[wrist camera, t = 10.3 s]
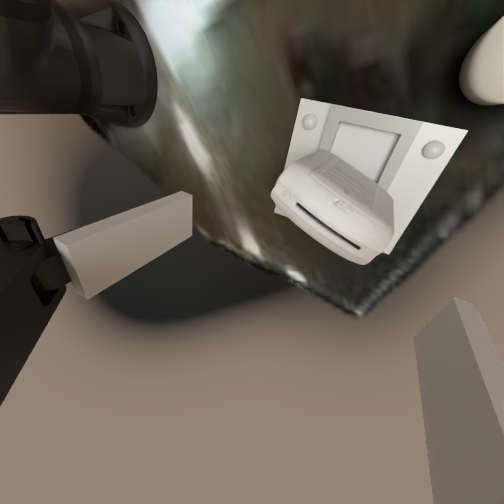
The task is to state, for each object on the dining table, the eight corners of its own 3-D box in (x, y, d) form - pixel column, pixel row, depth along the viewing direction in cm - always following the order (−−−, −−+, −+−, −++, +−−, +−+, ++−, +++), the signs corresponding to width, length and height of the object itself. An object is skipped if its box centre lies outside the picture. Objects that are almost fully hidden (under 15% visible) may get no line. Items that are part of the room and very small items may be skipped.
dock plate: (276, 210, 34) (270, 215, 32) (303, 98, 26) (296, 97, 24) (388, 250, 29) (388, 260, 27) (465, 130, 21) (473, 131, 19)
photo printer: (299, 175, 27) (252, 206, 18) (320, 141, 25) (279, 157, 15) (369, 226, 26) (359, 286, 17) (400, 197, 24) (408, 249, 14)
